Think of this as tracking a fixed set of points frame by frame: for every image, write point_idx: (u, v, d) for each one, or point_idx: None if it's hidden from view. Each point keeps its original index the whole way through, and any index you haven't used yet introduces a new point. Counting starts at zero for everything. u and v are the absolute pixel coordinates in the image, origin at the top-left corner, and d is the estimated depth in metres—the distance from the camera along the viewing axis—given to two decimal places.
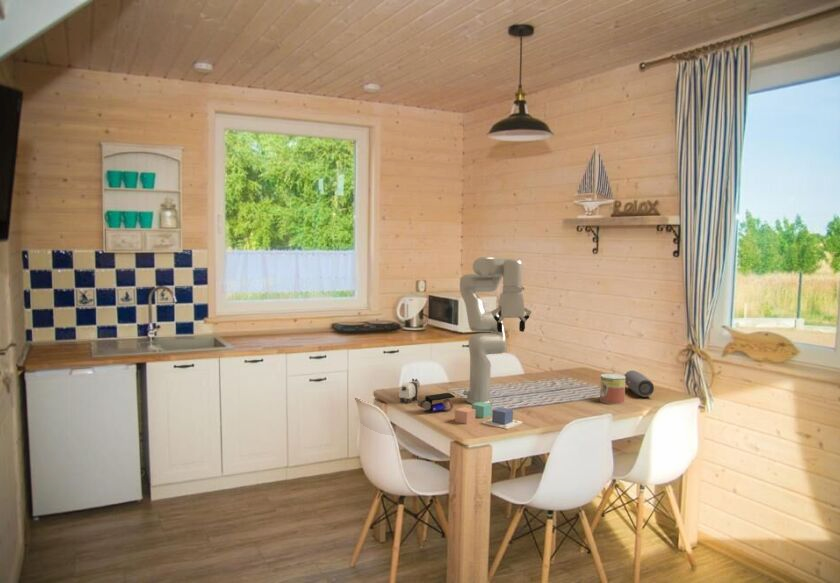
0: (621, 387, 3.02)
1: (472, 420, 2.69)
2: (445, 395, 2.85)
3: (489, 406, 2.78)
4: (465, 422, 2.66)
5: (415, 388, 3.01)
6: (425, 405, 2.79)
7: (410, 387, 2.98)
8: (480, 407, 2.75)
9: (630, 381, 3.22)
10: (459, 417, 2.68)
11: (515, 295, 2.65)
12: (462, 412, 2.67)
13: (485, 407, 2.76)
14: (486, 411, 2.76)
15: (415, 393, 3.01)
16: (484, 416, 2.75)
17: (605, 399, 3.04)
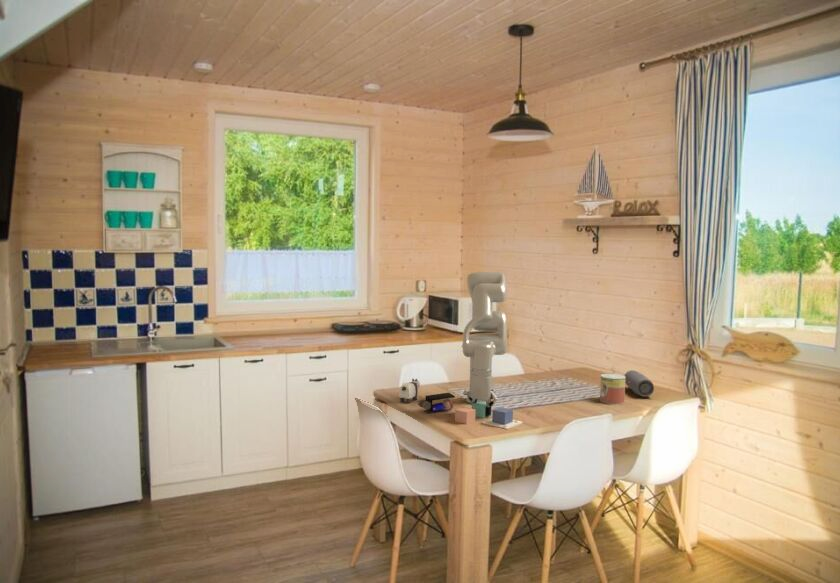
0: (621, 387, 3.02)
1: (472, 420, 2.69)
2: (445, 395, 2.85)
3: None
4: (465, 422, 2.66)
5: (415, 388, 3.01)
6: (425, 405, 2.79)
7: (410, 387, 2.98)
8: (480, 407, 2.75)
9: (630, 381, 3.22)
10: (459, 417, 2.68)
11: None
12: (462, 412, 2.67)
13: (485, 407, 2.75)
14: None
15: (415, 393, 3.01)
16: (484, 416, 2.75)
17: (605, 399, 3.04)
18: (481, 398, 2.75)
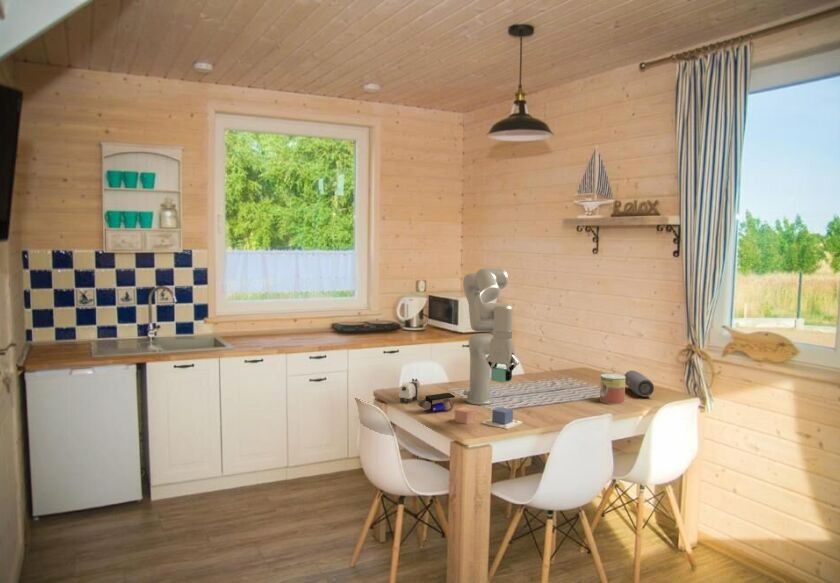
0: (621, 387, 3.02)
1: (472, 420, 2.69)
2: (445, 395, 2.85)
3: None
4: (465, 422, 2.66)
5: (415, 388, 3.01)
6: (425, 405, 2.79)
7: (410, 387, 2.98)
8: (500, 371, 2.64)
9: (630, 381, 3.22)
10: (459, 417, 2.68)
11: None
12: (462, 412, 2.67)
13: (505, 371, 2.64)
14: None
15: (415, 393, 3.01)
16: (504, 380, 2.63)
17: (605, 399, 3.04)
18: (501, 362, 2.63)
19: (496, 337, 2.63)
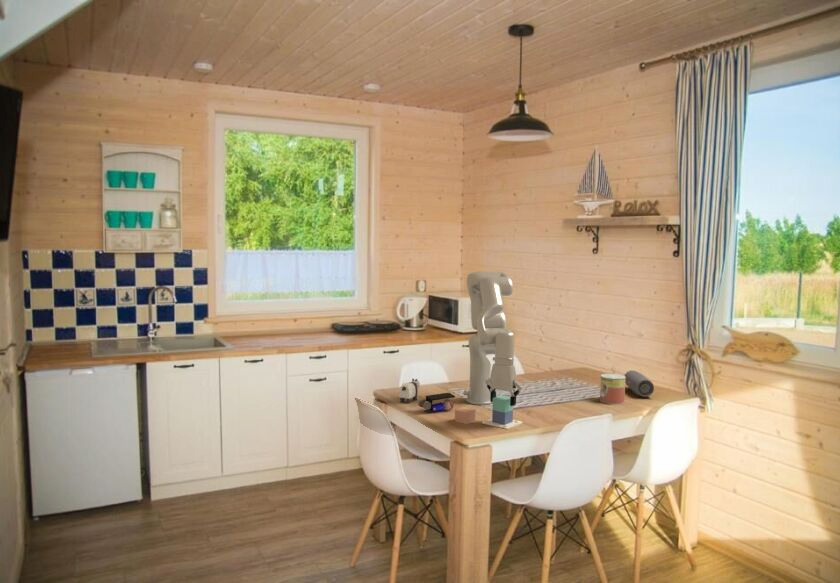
0: (621, 387, 3.02)
1: (472, 420, 2.69)
2: (445, 395, 2.85)
3: None
4: (465, 422, 2.66)
5: (415, 388, 3.01)
6: (425, 405, 2.79)
7: (410, 387, 2.98)
8: (501, 401, 2.64)
9: (630, 381, 3.22)
10: (459, 417, 2.68)
11: None
12: (462, 412, 2.67)
13: (507, 401, 2.64)
14: (508, 405, 2.65)
15: (415, 393, 3.01)
16: (505, 410, 2.64)
17: (605, 399, 3.04)
18: (503, 388, 2.63)
19: (498, 364, 2.63)
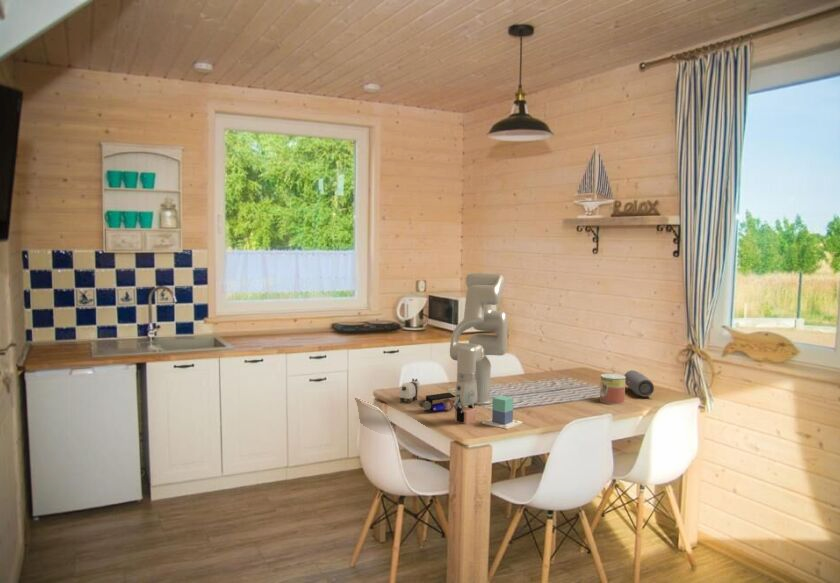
0: (621, 387, 3.02)
1: (472, 420, 2.68)
2: (445, 395, 2.85)
3: (511, 400, 2.66)
4: (465, 422, 2.66)
5: (415, 388, 3.01)
6: (425, 405, 2.79)
7: (410, 387, 2.98)
8: (501, 401, 2.64)
9: (630, 381, 3.22)
10: None
11: None
12: None
13: (507, 401, 2.64)
14: (508, 405, 2.65)
15: (415, 393, 3.01)
16: (505, 410, 2.64)
17: (605, 399, 3.04)
18: (473, 402, 2.69)
19: (472, 379, 2.66)
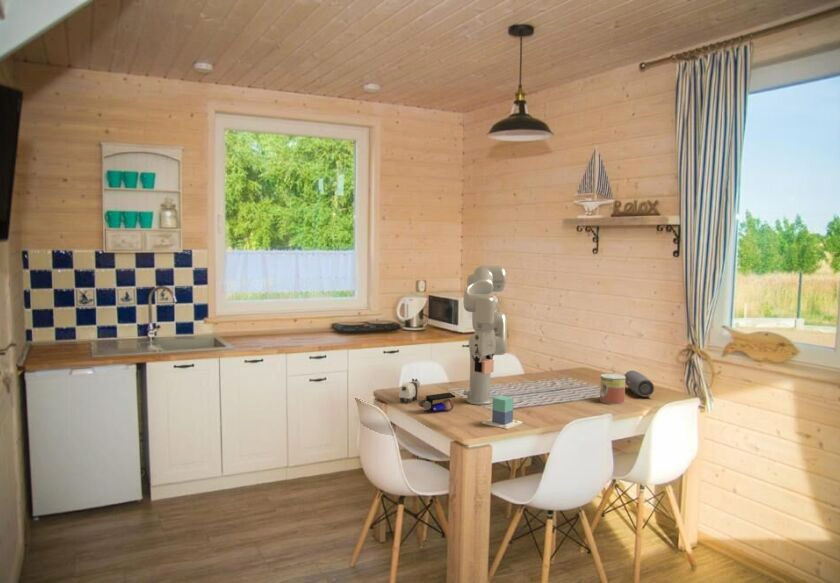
0: (621, 387, 3.02)
1: (490, 370, 2.66)
2: (446, 395, 2.85)
3: (511, 400, 2.66)
4: (483, 372, 2.63)
5: (415, 388, 3.01)
6: (425, 405, 2.79)
7: (410, 387, 2.98)
8: (501, 401, 2.64)
9: (630, 381, 3.22)
10: None
11: None
12: None
13: (507, 401, 2.64)
14: (508, 405, 2.65)
15: (415, 393, 3.01)
16: (505, 410, 2.64)
17: (605, 399, 3.04)
18: (491, 352, 2.66)
19: (491, 329, 2.63)
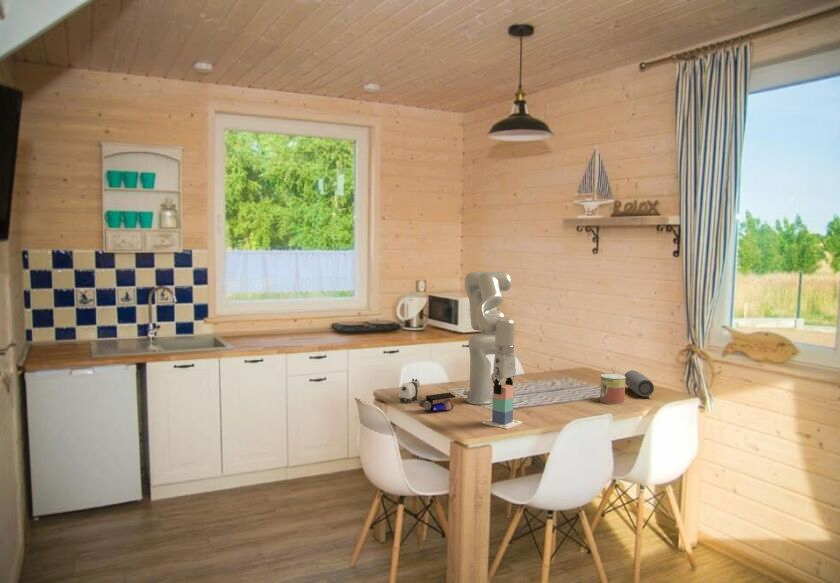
0: (621, 387, 3.02)
1: (510, 396, 2.66)
2: (446, 395, 2.85)
3: (511, 400, 2.66)
4: (504, 398, 2.63)
5: (415, 388, 3.01)
6: (425, 405, 2.79)
7: (410, 387, 2.98)
8: (501, 401, 2.64)
9: (630, 381, 3.22)
10: None
11: None
12: (501, 388, 2.64)
13: (507, 401, 2.64)
14: (508, 405, 2.65)
15: (415, 393, 3.01)
16: (505, 410, 2.64)
17: (605, 399, 3.04)
18: (511, 375, 2.66)
19: (511, 352, 2.63)
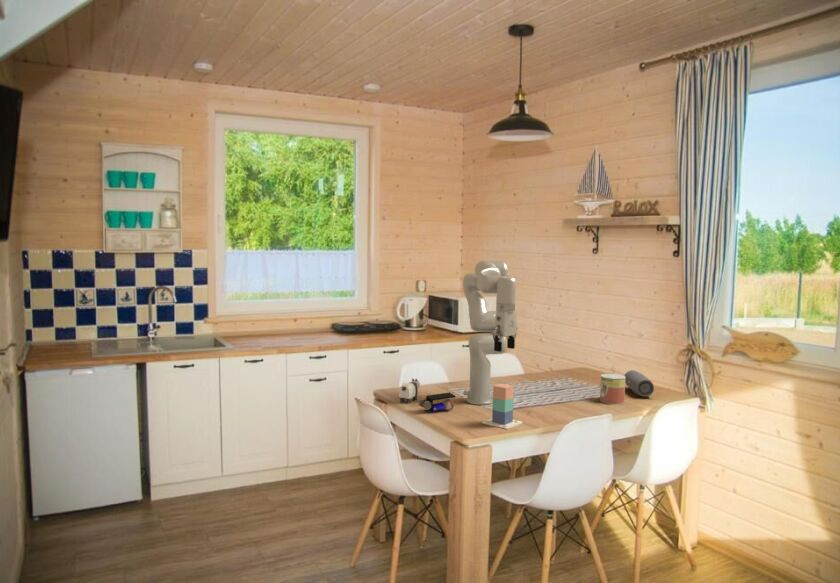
0: (621, 387, 3.02)
1: (510, 396, 2.66)
2: (446, 395, 2.85)
3: (511, 400, 2.66)
4: (504, 398, 2.63)
5: (415, 388, 3.01)
6: (425, 405, 2.79)
7: (410, 387, 2.98)
8: (501, 401, 2.64)
9: (630, 381, 3.22)
10: (498, 393, 2.65)
11: None
12: (501, 388, 2.64)
13: (507, 401, 2.64)
14: (508, 405, 2.65)
15: (415, 393, 3.01)
16: (505, 410, 2.64)
17: (605, 399, 3.04)
18: (513, 333, 2.64)
19: (512, 309, 2.61)
